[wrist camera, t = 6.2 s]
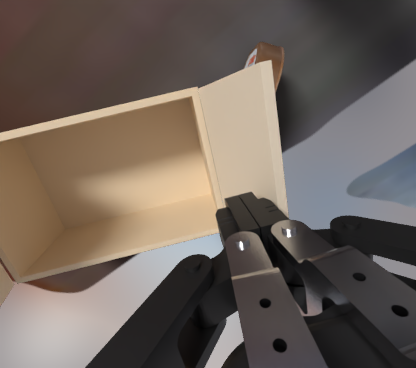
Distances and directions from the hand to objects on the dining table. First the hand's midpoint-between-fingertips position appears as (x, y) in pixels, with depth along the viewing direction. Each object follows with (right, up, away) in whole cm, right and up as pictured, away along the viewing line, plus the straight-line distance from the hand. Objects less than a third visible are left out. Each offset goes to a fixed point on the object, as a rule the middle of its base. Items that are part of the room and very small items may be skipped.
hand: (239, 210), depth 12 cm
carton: (-13, +4, +18) cm, 22 cm away
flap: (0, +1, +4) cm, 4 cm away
